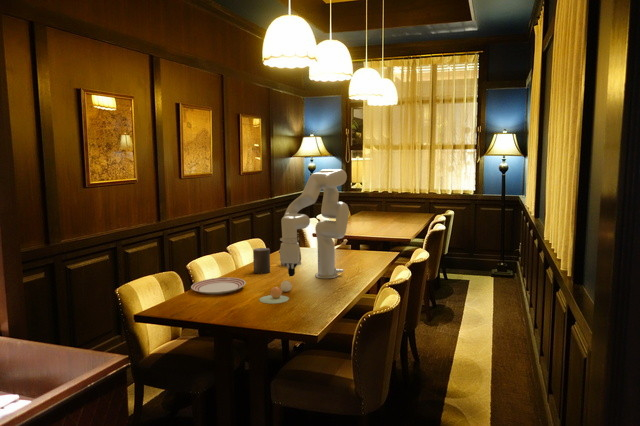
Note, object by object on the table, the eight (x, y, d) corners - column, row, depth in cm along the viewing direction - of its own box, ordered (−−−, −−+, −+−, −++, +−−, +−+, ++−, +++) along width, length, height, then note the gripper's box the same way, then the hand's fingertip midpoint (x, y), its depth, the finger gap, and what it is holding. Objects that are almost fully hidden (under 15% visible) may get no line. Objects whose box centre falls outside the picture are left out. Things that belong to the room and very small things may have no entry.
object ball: (276, 283, 239) (273, 294, 236) (285, 288, 241) (282, 299, 239) (269, 285, 243) (266, 296, 240) (278, 290, 245) (275, 301, 242)
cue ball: (285, 280, 249) (284, 291, 248) (294, 281, 252) (293, 292, 251) (278, 280, 253) (277, 291, 252) (287, 280, 256) (286, 291, 255)
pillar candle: (267, 274, 290) (266, 248, 289) (251, 273, 292) (250, 248, 291) (272, 270, 300) (271, 245, 298) (256, 270, 302) (256, 245, 300)
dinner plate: (220, 300, 240) (219, 293, 239) (179, 292, 254) (179, 286, 254) (256, 287, 263) (256, 281, 262) (217, 281, 277) (217, 275, 277)
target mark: (286, 294, 247) (286, 294, 247) (291, 302, 233) (291, 301, 233) (257, 296, 244) (257, 296, 244) (260, 304, 230) (260, 304, 230)
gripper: (273, 241, 254) (275, 277, 257) (300, 242, 249) (302, 278, 252) (279, 238, 261) (281, 273, 264) (306, 239, 256) (308, 274, 259)
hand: (291, 275), depth 258 cm, fingers closed
